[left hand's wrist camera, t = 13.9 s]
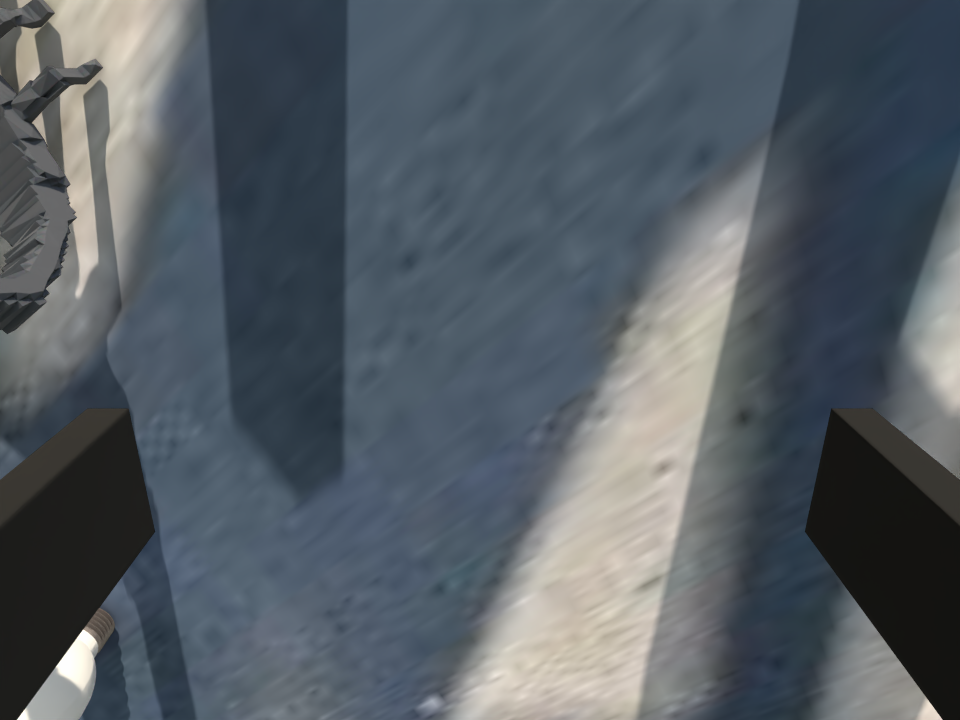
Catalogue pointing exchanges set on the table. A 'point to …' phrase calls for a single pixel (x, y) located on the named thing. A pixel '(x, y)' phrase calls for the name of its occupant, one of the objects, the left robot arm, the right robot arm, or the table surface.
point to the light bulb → (72, 675)
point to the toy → (32, 181)
